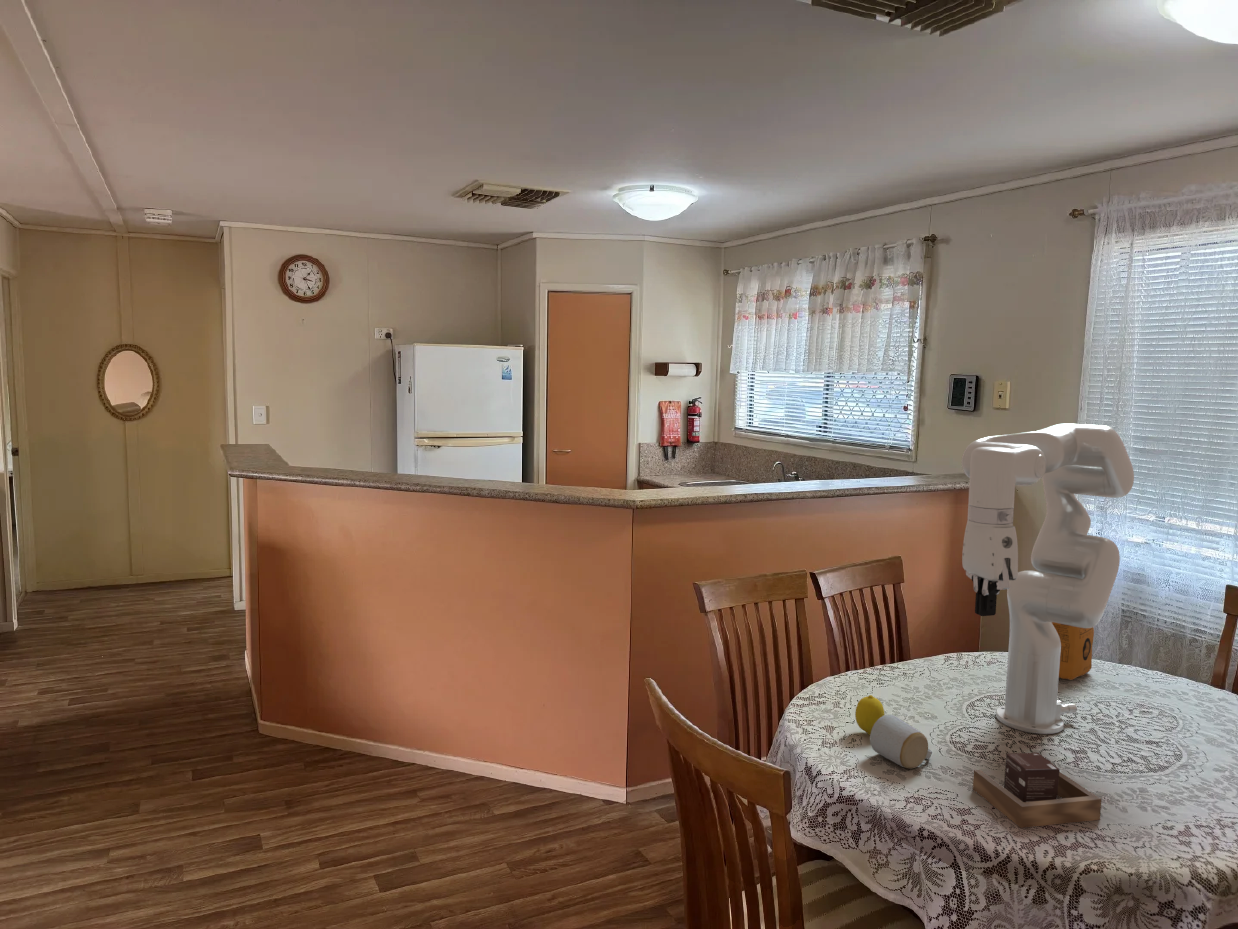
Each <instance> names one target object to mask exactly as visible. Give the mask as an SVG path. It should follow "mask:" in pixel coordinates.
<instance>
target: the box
mask: <svg viewBox="0 0 1238 929" xmlns="http://www.w3.org/2000/svg"><path fill="white" fill-rule="evenodd" d="M1005 757H1006V758H1005V769H1004V782H1003V787H1004V788H1005V789H1007V790H1008V791H1009V792H1011V793H1012V794H1013V795H1015V796H1016V797H1017V798H1019V799H1020V800H1021V801H1023V802H1033V801H1043V800H1054V799H1058V795H1057V793H1058V782H1059V772H1061V769H1060V768H1059V767H1058V766H1056V765H1055V764H1053V763H1052V761H1051V760H1050V759H1048V758H1046V757H1045V756H1043V754H1041V753H1040V752H1008V753H1006V755H1005Z"/></svg>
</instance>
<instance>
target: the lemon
mask: <svg viewBox="0 0 1238 929" xmlns="http://www.w3.org/2000/svg"><path fill="white" fill-rule="evenodd" d="M854 715H855V721H856V725H857V726H858V727H859V728H860V730H862V731H863V732H865V733H866V734H867V735H870V734H871V730H872V728H873V726H874V724H875V723H876V721H877V720H878V719H879V718H880V717H882V716H884V715H885V708H884V706H883V704H882V702H881V700H879V699H878V698H876V697H875V696H873V694H869V695H868V696H863V697H862V698H861V699H860V700H859V701H858V702H857V705H856V707H855V714H854Z"/></svg>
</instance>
